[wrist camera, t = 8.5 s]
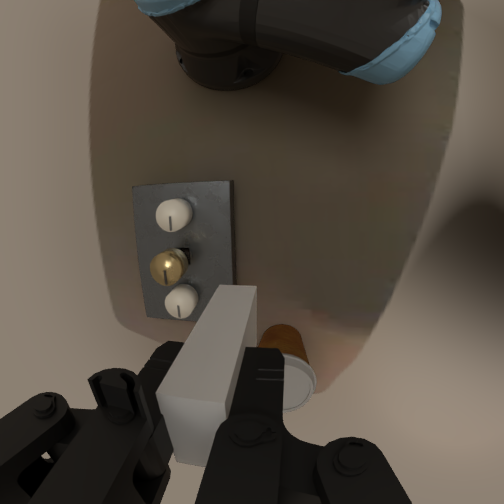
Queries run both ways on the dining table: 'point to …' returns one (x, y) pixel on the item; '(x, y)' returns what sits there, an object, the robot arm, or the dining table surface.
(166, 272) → the brass pot knob
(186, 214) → the knob
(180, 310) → the knob
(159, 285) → the mount panel
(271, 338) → the disposable coffee cup
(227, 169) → the dining table surface
